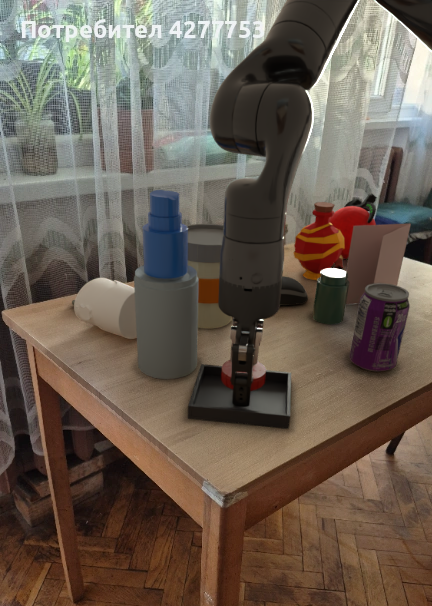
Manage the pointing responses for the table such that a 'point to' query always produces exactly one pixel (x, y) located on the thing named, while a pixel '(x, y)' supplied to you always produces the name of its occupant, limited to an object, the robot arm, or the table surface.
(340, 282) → the jar
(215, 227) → the reusable coffee cup
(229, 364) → the lid
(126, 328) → the mug
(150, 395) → the table surface
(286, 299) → the computer mouse
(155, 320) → the spray bottle
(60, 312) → the table surface
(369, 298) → the beverage can
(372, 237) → the greeting card
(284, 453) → the table surface
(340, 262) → the ammunition
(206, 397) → the tray
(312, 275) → the potion bottle
